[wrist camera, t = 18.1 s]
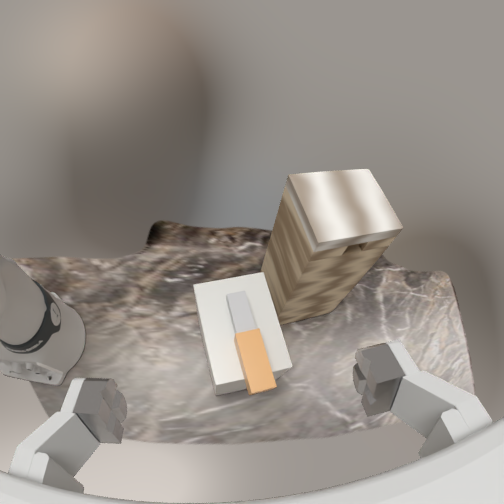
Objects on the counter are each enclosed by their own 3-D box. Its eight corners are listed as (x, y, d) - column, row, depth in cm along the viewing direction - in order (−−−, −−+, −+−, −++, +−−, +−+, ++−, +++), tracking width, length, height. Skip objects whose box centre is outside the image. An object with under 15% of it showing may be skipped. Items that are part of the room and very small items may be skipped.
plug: (249, 395, 36) (251, 393, 34) (223, 301, 42) (224, 292, 40) (272, 389, 37) (276, 386, 34) (245, 297, 43) (247, 288, 40)
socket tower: (272, 326, 57) (318, 242, 33) (258, 279, 62) (288, 174, 38) (330, 312, 60) (403, 228, 36) (314, 268, 65) (368, 168, 40)
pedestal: (215, 395, 50) (215, 385, 36) (198, 320, 56) (193, 284, 43) (272, 382, 52) (292, 366, 39) (251, 310, 59) (263, 272, 45)
